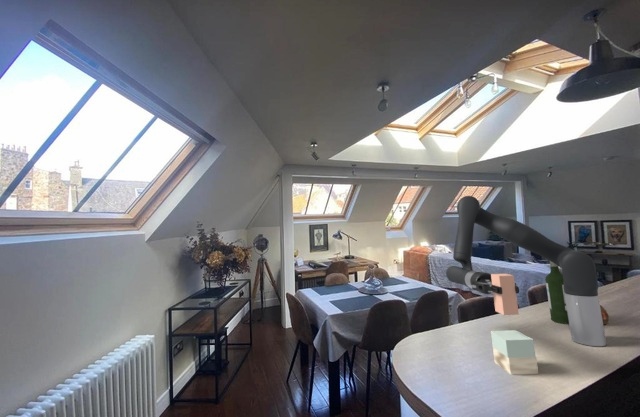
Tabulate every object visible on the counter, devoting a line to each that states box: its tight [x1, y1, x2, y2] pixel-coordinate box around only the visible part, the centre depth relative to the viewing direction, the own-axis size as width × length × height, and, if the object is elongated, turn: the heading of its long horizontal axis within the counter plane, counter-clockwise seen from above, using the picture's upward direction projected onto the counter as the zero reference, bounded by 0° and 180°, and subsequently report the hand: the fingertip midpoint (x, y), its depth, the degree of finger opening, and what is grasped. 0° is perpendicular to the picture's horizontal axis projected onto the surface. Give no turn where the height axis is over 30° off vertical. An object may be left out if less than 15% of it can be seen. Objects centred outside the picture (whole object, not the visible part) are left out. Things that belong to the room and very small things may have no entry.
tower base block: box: [492, 346, 539, 376], centre depth 84 cm, size 8×8×5 cm
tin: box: [600, 304, 610, 325], centre depth 120 cm, size 15×3×8 cm, turn 168°
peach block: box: [490, 272, 520, 316], centre depth 86 cm, size 4×4×12 cm
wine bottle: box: [544, 260, 569, 325], centre depth 123 cm, size 8×8×30 cm
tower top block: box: [490, 329, 537, 358], centre depth 84 cm, size 8×8×5 cm
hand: (509, 290), depth 84 cm, fingers closed on peach block, 4 cm apart
